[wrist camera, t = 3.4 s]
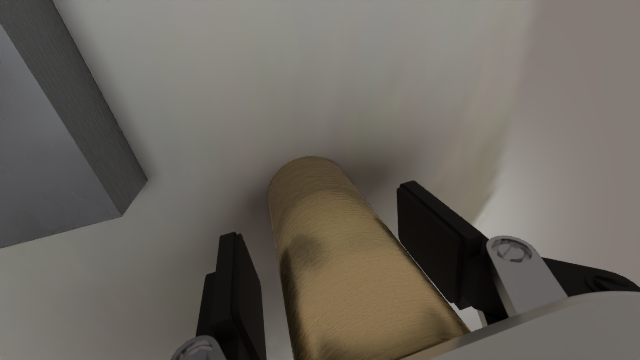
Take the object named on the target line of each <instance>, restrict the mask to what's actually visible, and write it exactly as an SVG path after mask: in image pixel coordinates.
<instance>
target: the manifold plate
mask: <svg viewBox="0 0 640 360" xmlns="http://www.w3.org/2000/svg"><path fill="white" fill-rule="evenodd" d="M146 182H147V179H146V177H145V175H144V173H143V171H142V169H141V167H140V166H139V164H138V162H137V160H136V158H135V156H134V154H133V152H132V151H131V149H130V147H129V145H128V143H127V141H126V139H125V137H124V136H123V134H122V132H121V130H120V128H119V126H118V124H117V122H116V121H115V119H114V117H113V115H112V113H111V111H110V109H109V107H108V106H107V104H106V102H105V100H104V98H103V96H102V94H101V92H100V91H99V89H98V87H97V85H96V83H95V81H94V79H93V77H92V76H91V74H90V72H89V70H88V68H87V66H86V64H85V62H84V61H83V59H82V57H81V55H80V53H79V51H78V49H77V47H76V46H75V44H74V42H73V40H72V38H71V36H70V34H69V32H68V31H67V29H66V27H65V25H64V23H63V21H62V19H61V17H60V16H59V14H58V12H57V10H56V8H55V6H54V4H53V2H52V1H51V0H0V248H4V247H8V246H12V245H16V244H19V243H23V242H27V241H31V240H35V239H38V238H42V237H46V236H50V235H54V234H57V233H61V232H65V231H69V230H73V229H76V228H80V227H84V226H88V225H91V224H95V223H99V222H103V221H107V220H110V219H114V218H118V217H122V216H123V214H124V213H125V211H126V210H127V209H128V207H129V206H130V204H131V203H132V201H133V200H134V199H135V197H136V196H137V194H138V193H139V192H140V190H141V189H142V187H143V186H144V185H145V183H146Z"/></svg>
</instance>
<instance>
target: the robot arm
mask: <svg viewBox="0 0 640 360" xmlns="http://www.w3.org/2000/svg"><path fill="white" fill-rule="evenodd" d="M397 212H398V236H399V240H400V242H401V243H402V245H403V246H404V247H405V249H406V250H407V251H408V252H409V253H410V255H411V256H412V257H413V258H414V260H415V261H416V262H417V263H418V265H419V266H420V267H421V268H422V270H423V271H424V272H425V273H426V275H427V276H428V277H429V278H430V279H431V281H432V282H433V283H434V284H435V286H436V287H437V288H438V289H439V291H440V292H441V293H442V294H443V296H444V297H445V298H446V299H447V300H448V301H449V302H450V303H454V304H455V305H456V306H457V307H458V309H459V310H462V309H465V308H467V307H470V306H472V307H473V308H474V309H477V311H478V314H479V317H480V320H481V322H482V326H483V328H481V329H478V330H475V331H473V332H470V333H468V334H465V335H462V336H460V337H457V338H454V339H452V340H449V341H447V342H444V343H441V344H439V345H436V346H434V347H431V348H429V349H426V350H423V351H421V352H418V353H416V354H413V355H410V356H408V357H405V358H403V359H400V360H640V287H638V286H637V285H636V284H635V283H633V282H632V281H630V280H629V279H627V278H625V277H623V276H621V275H618V274H616V273H613V272H609V271H606V270H601V269H597V268H592V267H587V266H582V265H577V264H572V263H567V262H563V261H557V260H553V259H548V258H543V257H541V256H540V255H539V254H538V252H537V251H536V249H535V248H534V247H533V246H532V245H530V244H529V243H527V242H526V241H524V240H521V239H519V238H515V237H512V236H496V237H493V238H491V239H490V240H489V239H488V238H487V237H486V236H484V235H483V234H482V233H481V232H480V231H478V230H477V229H476V228H475V227H473V226H472V225H471V224H469V223H468V222H467V221H466V220H464V219H463V218H462V217H460V216H459V215H458V214H457V213H455V212H454V211H453V210H451V209H450V208H449V207H448V206H446V205H445V204H444V203H442V202H441V201H440V200H439V199H437V198H436V197H435V196H433V195H432V194H431V193H430V192H428V191H427V190H426V189H424V188H423V187H422V186H421V185H419V184H418V183H417V182H416V181H409V182H406V183H402V184H400V188H398V189H397ZM171 360H267V359H266V346H265V333H264V320H263V307H262V294H261V285H260V281H259V278H258V276H257V273H256V270H255V268H254V265H253V263H252V260H251V258H250V255H249V252H248V250H247V247H246V245H245V242H244V240H243V237H242V235H241V234H238V235H236V233H235V232H231V233H228V234H225V235H221V236H220V240H219V249H218V257H217V265H216V272H213V273H210V274H207V275H206V278H205V282H204V289H203V295H202V301H201V307H200V313H199V319H198V326H197V332H196V337H195V338H193V339H191V340H189V341H187V342H186V343H185V344H183V345H182V346H181V347H180V348H179V349H178V350H177V351H176V353H175V354H174V355H173V356H172V358H171Z"/></svg>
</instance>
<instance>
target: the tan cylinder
mask: <svg viewBox="0 0 640 360" xmlns="http://www.w3.org/2000/svg"><path fill="white" fill-rule="evenodd" d="M268 205H269V211H270V218H271V224H272V230H273V236H274V242H275V248H276V255H277V261H278V267H279V273H280V279H281V285H282V291H283V298H284V304H285V310H286V316H287V322H288V328H289V334H290V341H291V347H292V353H293V359H294V360H400V359H403V358H405V357H408V356H410V355H413V354H416V353H418V352H421V351H423V350H426V349H429V348H431V347H434V346H436V345H439V344H441V343H444V342H447V341H449V340H452V339H454V338H457V337H460V336H462V335H465V334H468V333H470V332H471V331H470V330H469V328H468V327H467V326H466V325H465V323H464V322H463V321H462V320H461V318H460V317H459V316H458V315H457V313H456V312H455V311H454V310H453V308H452V307H451V306H450V305H449V304H448V302H447V301H446V300H445V299H444V297H443V296H442V295H441V294H440V292H439V291H438V290H437V288H436V287H435V286H434V285H433V283H432V282H431V281H430V280H429V279H428V277H427V276H426V275H425V274H424V272H423V271H422V270H421V269H420V267H419V266H418V265H417V264H416V262H415V261H414V260H413V259H412V257H411V256H410V255H409V254H408V252H407V251H406V250H405V249H404V247H403V246H402V245H401V244H400V242H399V241H398V240H397V239H396V237H395V236H394V235H393V234H392V232H391V231H390V230H389V229H388V227H387V226H386V225H385V224H384V222H383V221H382V220H381V219H380V217H379V216H378V215H377V214H376V212H375V211H374V210H373V209H372V207H371V206H370V205H369V204H368V202H367V201H366V200H365V199H364V198H363V196H362V195H361V194H360V193H359V191H358V190H357V189H356V188H355V186H354V185H353V184H352V183H351V181H350V180H349V179H348V178H347V176H346V175H345V174H344V173H343V171H342V170H341V169H340V168H339V167H338V166H337V165H336V164H335V163H333V162H332V161H330V160H328V159H325V158H322V157H314V156H310V157H302V158H299V159H296V160H293V161H291V162H289V163H288V164H286V165H285V166H283V167H282V168H281V169H280V170H279V171H278V172H277V173H276V174H275V176H274V177H273V179H272V181H271V183H270V186H269V189H268Z"/></svg>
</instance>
